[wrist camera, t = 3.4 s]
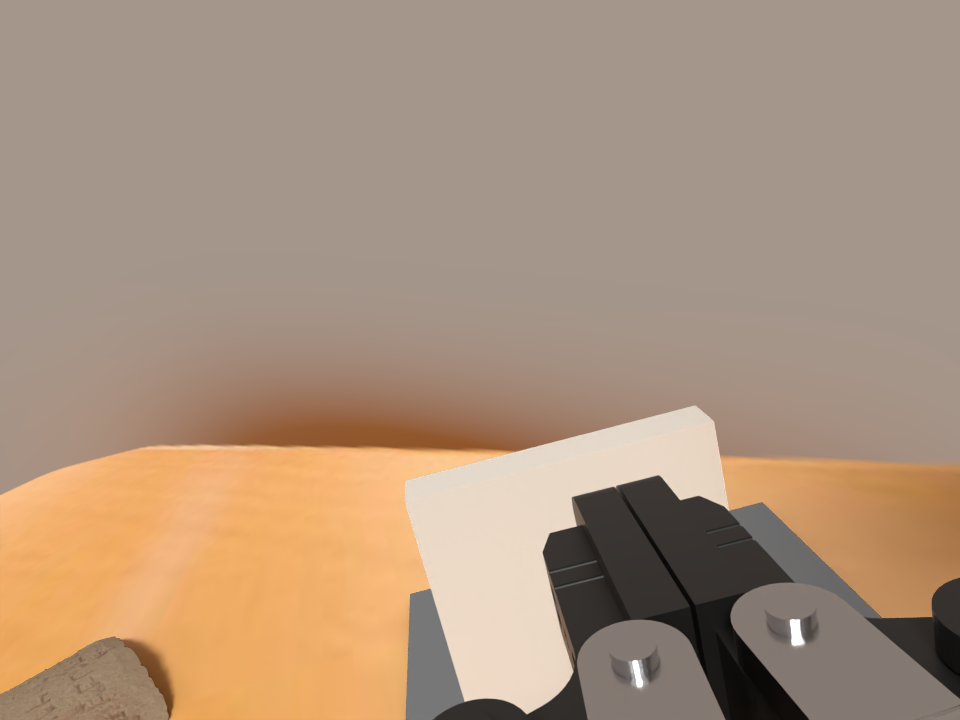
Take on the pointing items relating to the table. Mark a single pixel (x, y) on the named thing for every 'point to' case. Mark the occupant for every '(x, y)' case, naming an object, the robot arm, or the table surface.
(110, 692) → the clay tablet
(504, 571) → the tile
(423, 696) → the mat
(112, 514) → the table surface
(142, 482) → the table surface
